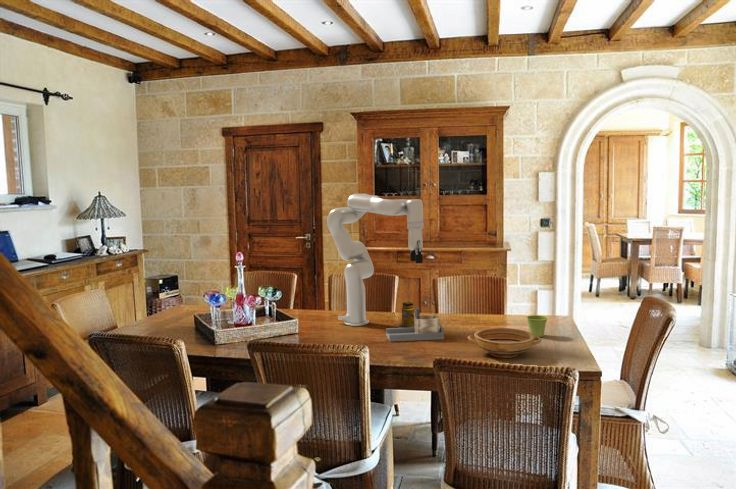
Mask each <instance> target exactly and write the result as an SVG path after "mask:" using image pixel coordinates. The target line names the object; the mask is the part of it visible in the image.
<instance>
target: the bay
mask: <svg viewBox="0 0 736 489" xmlns="http://www.w3.org/2000/svg"><path fill="white" fill-rule="evenodd" d="M444 328H445V327H444V326H443V325H441V323H440V332H433V333H415V327H411V328H399V327H390V328H388V327H387V328H385V335H386V337H387V339H388V341H389V342H408V341H409V342H412V341H431V340H432V341H433V340H434V341H435V340H445V332H444V331H445V330H444Z"/></svg>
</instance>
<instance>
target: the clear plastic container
mask: <svg viewBox="0 0 736 489" xmlns="http://www.w3.org/2000/svg"><path fill="white" fill-rule="evenodd" d="M440 324H441V321H440V318H439V317H438V316H437V315H436V314H426V315H425V314H423V315H422V314H421V310H420V307H418V306H414V326H415V333H433V332H440Z"/></svg>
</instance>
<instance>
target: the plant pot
mask: <svg viewBox="0 0 736 489" xmlns="http://www.w3.org/2000/svg"><path fill="white" fill-rule="evenodd" d="M525 318H526V320H527V323H528V329H529V331H528V332H529V333H531V334H533V335H534V336H535V337H540V338H543V337H544V336H545V331H546V330H545V329H546V323H547V320H549V318H548V317H547V316H544V315H541V314H540V315H539V314H538V315H537V314H535V315H527V316H526V317H525Z"/></svg>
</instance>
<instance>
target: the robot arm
mask: <svg viewBox="0 0 736 489" xmlns="http://www.w3.org/2000/svg"><path fill="white" fill-rule="evenodd" d="M346 204H347V206H345V207H336V208H333V209H332V210H330V212H329V213H328V215H327V219H326V220H327V221H326V225H327V229H328V230H329V233H330V235H331V236H332V239H333V241H334V244H335V246H336V249H337V251H338V254H339V257H340V258H341V260H343V261H347V262H348V261H350V263H348V264H346V266H345V267H344V272H343V273H344V280H345V285H346V286H345V287H346V288H345V289H346V290H345V291H346V313H345V315H338V316H337V319H338V320H340V321H343V323H344V324H345V325H347V326H352V327H353V326H354V327H359V326H361V327H362V326H366V325H368V324H369V321H370V320H369V319H366V285H365V283H364V280H365V279H368V278H370V277H372V276H373V274H374V271H375V269H374V264H373V261H372V259H371V257H370V254H369V251H368V250H367V247H366V246H365V244H364V242H361V241H359V240H352V238H351V234H350V232H349V231H348V229H347V228H346V227H345V226H344V225H347V224H353V223H356V222H357V221H358V220H360V219H361V218H362V217H363V216H364V215H365V214H366V213H372V214H376V215H382V216H393V217H394V216H395V217H396V216H406V223H407V224H406V226H407V230H408V236H407V237H408V243H407V245H408V246H407V247H408V249H409V250H410V262H415V264H423V261H424V258H423V247H424V246H423V244H424V243H423V241H424V239H423V229H424V204H423V200H422V199H419V198H418V199H417V198H415V199H414V198H413V199H412V198H411V199H407V198H406V199H405V198H402V199H401V198H400V199H390V198H389V199H387V198H380V196H379V195H373V194H368V193H364V192H363V193H354V194H351V195H349V197H348V198H347V202H346ZM351 261H352V262H351Z"/></svg>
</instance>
